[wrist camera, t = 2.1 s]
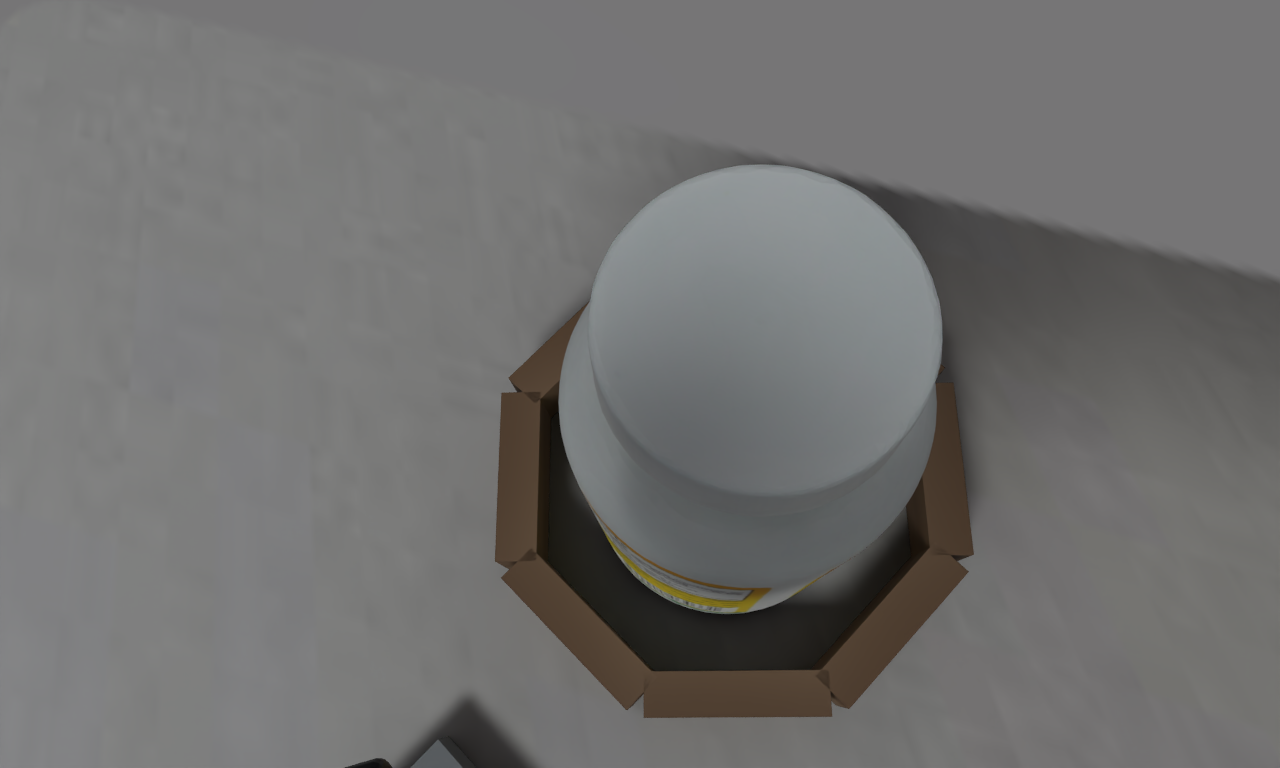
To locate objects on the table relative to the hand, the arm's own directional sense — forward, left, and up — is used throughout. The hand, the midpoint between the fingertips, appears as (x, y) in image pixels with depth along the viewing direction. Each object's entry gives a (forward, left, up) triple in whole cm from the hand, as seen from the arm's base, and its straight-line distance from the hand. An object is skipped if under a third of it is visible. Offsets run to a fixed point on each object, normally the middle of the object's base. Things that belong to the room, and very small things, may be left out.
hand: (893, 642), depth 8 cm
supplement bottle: (+3, -2, -11) cm, 11 cm away
